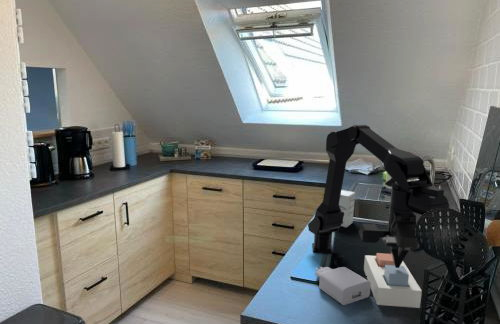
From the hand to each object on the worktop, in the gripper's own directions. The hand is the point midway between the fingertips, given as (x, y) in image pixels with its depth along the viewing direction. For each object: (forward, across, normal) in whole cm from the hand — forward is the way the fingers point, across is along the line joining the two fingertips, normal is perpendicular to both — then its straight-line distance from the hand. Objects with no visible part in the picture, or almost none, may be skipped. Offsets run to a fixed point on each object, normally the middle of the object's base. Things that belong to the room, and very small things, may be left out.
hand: (396, 267), depth 95 cm
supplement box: (+8, -7, +53) cm, 54 cm away
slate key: (+5, 0, 0) cm, 5 cm away
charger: (+9, -14, +3) cm, 17 cm away
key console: (+8, 0, +5) cm, 9 cm away
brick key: (+6, 0, +10) cm, 12 cm away
